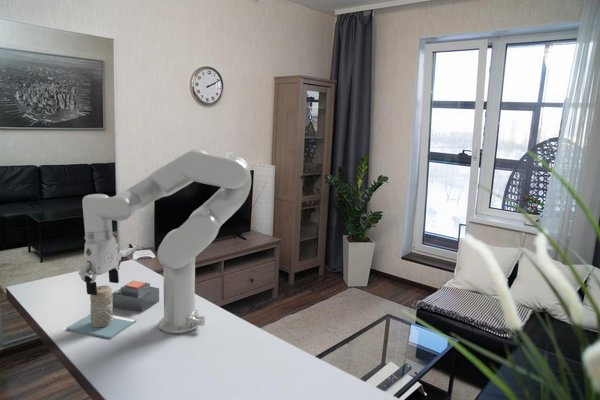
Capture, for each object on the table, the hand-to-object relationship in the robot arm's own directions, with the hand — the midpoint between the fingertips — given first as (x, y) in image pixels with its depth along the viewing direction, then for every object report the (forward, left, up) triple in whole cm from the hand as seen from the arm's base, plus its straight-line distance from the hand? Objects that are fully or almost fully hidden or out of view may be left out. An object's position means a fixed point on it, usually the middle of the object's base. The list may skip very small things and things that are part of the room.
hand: (103, 288), depth 134 cm
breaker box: (+1, -17, -13) cm, 21 cm away
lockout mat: (+1, 0, -13) cm, 12 cm away
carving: (+1, +1, -12) cm, 12 cm away
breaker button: (+1, -17, -7) cm, 18 cm away
